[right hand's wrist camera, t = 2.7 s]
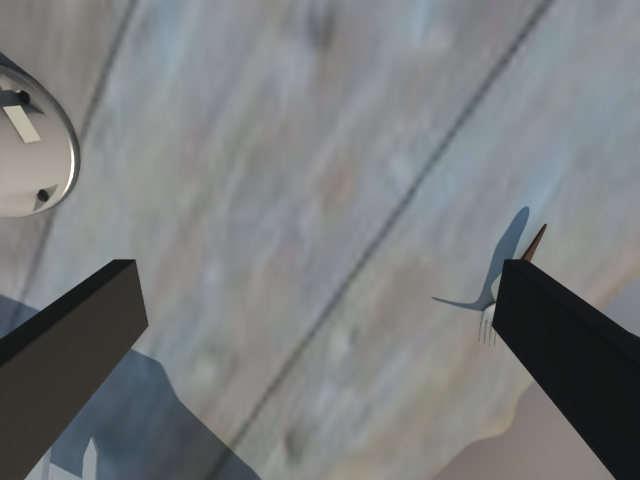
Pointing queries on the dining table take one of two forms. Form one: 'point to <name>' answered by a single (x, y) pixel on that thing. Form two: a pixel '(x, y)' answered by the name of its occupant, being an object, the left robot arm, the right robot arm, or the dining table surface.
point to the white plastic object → (90, 462)
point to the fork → (489, 311)
